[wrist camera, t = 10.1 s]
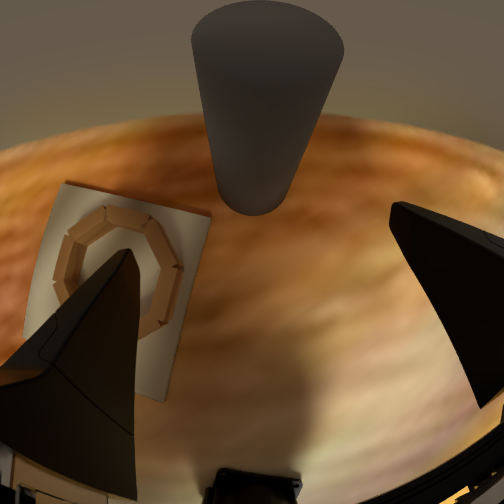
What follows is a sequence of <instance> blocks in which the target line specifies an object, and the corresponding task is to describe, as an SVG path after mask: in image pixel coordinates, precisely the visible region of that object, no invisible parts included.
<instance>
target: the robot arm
mask: <svg viewBox="0 0 504 504" xmlns="http://www.w3.org/2000/svg"><path fill="white" fill-rule="evenodd" d="M389 227H390V230H391V232H392V234H393V236H394V237H395V239H396V241H397V243H398V245H399V247H400V249H401V251H402V253H403V255H404V257H405V259H406V261H407V263H408V264H409V266H410V268H411V269H412V271H413V273H414V274H415V276H416V278H417V279H418V281H419V283H420V284H421V286H422V288H423V289H424V291H425V293H426V295H427V296H428V298H429V300H430V302H431V304H432V305H433V307H434V309H435V311H436V313H437V315H438V317H439V319H440V320H441V322H442V324H443V326H444V328H445V330H446V332H447V334H448V336H449V338H450V340H451V342H452V344H453V347H454V349H455V351H456V353H457V355H458V357H459V360H460V362H461V364H462V367H463V369H464V371H465V373H466V376H467V378H468V381H469V383H470V385H471V388H472V390H473V393H474V396H475V398H476V401H477V403H478V406H479V408H480V409H482V408H483V407H485V406H486V405H487V404H489V403H490V402H491V401H493V400H494V399H495V398H497V397H498V396H499V395H501V394H502V393H503V392H504V239H503V238H501V237H498V236H496V235H493V234H491V233H488V232H486V231H484V230H483V231H482V230H481V229H479V228H476V227H474V226H471V225H469V224H466V223H463V222H461V221H458V220H456V219H453V218H450V217H447V216H445V215H442V214H439V213H436V212H434V211H431V210H428V209H425V208H422V207H419V206H416V205H413V204H410V203H407V202H404V201H400V202H394V203H393V204H392V206H391V213H390V219H389ZM139 321H140V269H139V266H138V264H137V261H136V259H135V256H134V254H133V251H132V250H131V249H130V248H126V249H121V250H118V251H117V252H116V253H115V254H114V255H113V256H112V257H110V258H109V259H108V260H107V261H106V262H105V263H104V264H103V265H102V266H101V267H100V268H99V269H97V270H96V271H95V272H94V273H93V274H92V275H91V276H90V277H89V278H88V279H87V280H86V281H85V282H84V283H83V284H82V285H81V286H80V287H79V288H78V289H77V290H76V291H75V292H74V293H73V294H72V295H71V296H70V297H69V298H68V299H67V300H66V301H65V302H64V303H63V304H62V305H61V306H60V307H59V308H58V309H57V310H56V311H55V313H53V314H52V315H51V316H50V317H49V318H48V319H47V320H46V321H45V323H44V324H43V325H42V326H41V327H40V328H39V329H38V330H37V331H36V332H35V333H34V334H33V335H32V336H31V337H30V338H29V339H28V340H27V341H26V342H25V343H24V344H23V345H22V346H21V347H20V348H19V349H18V350H17V351H16V352H15V353H14V354H13V355H12V356H11V357H10V358H9V359H8V360H7V361H6V362H5V363H4V364H3V365H2V366H1V367H0V504H108V498H112V499H119V500H128V501H137V486H136V471H135V444H134V437H133V436H134V398H135V373H136V356H137V343H138V332H139ZM221 473H226V475H222V474H221ZM294 484H298V485H294ZM467 485H468V488H469V491H470V492H468V493H466V494H464V495H462V496H460V497H458V498H457V499H455V502H456V503H454V504H504V405H503V409H502V415H501V421H500V424H499V425H497V426H496V427H495V428H494V429H492V430H491V431H490V432H488V433H487V434H486V435H484V436H483V437H482V438H480V439H479V440H478V441H476V442H475V443H473V444H472V445H470V446H469V447H467V448H466V449H465V450H463V451H461V452H460V453H458V454H457V455H455V456H454V457H452V458H450V459H449V460H447V461H446V462H444V463H442V464H440V465H439V466H437V467H435V468H434V469H432V470H430V471H428V472H426V473H424V474H423V475H421V476H419V477H417V478H415V479H413V480H411V481H409V482H407V483H405V484H402V485H400V486H398V487H396V488H394V489H392V490H389V491H387V492H385V493H382V494H380V495H377V496H375V497H372V498H370V499H367V500H364V501H362V502H359V503H356V504H439V503H441V502H442V501H444V500H446V499H447V498H449V497H451V496H452V495H454V494H455V493H457V492H458V491H460V490H461V489H463V488H464V487H466V486H467ZM302 486H303V484H302V481H301V480H300V479H296V478H285V477H277V476H269V475H262V474H255V473H249V472H243V471H238V470H233V469H228V468H220V469H218V470H217V473H216V476H215V480H214V483H213V486H212V487H207V488H206V489H205V492H204V496H203V499H202V503H201V504H297V500H296V499H297V497H298V495H299V493H300V490H301V488H302Z"/></svg>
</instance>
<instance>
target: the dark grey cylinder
mask: <svg viewBox="0 0 504 504" xmlns="http://www.w3.org/2000/svg"><path fill="white" fill-rule="evenodd" d="M191 43H192V49H193V55H194V61H195V67H196V73H197V79H198V84H199V90H200V96H201V101H202V107H203V112H204V118H205V123H206V129H207V134H208V140H209V145H210V150H211V155H212V161H213V166H214V171H215V176H216V181H217V186H218V191H219V194H220V196H221V198H222V200H223V201H224V202H225V204H226V205H227V206H228V207H230V208H231V209H232V210H234V211H236V212H238V213H241V214H244V215H249V216H257V215H263V214H266V213H269V212H271V211H273V210H274V209H276V208H277V207H278V206H279V205H280V204H281V203H282V201H283V200H284V198H285V196H286V194H287V192H288V189H289V187H290V185H291V182H292V180H293V178H294V175H295V173H296V170H297V168H298V166H299V163H300V161H301V158H302V156H303V154H304V151H305V149H306V147H307V144H308V142H309V139H310V137H311V135H312V132H313V130H314V127H315V125H316V123H317V120H318V118H319V115H320V113H321V110H322V108H323V105H324V103H325V101H326V98H327V96H328V93H329V91H330V89H331V86H332V84H333V81H334V79H335V76H336V74H337V71H338V69H339V67H340V64H341V62H342V59H343V55H344V46H343V42H342V40H341V37H340V36H339V34H338V33H337V31H336V30H335V29H334V28H333V27H332V26H331V25H330V24H329V23H328V22H327V21H325V20H324V19H323V18H321V17H320V16H318V15H316V14H314V13H312V12H310V11H308V10H306V9H303V8H301V7H298V6H295V5H291V4H287V3H283V2H276V1H265V0H256V1H244V2H238V3H233V4H230V5H226V6H223V7H221V8H219V9H216V10H214V11H212V12H211V13H209V14H208V15H206V16H205V17H204V18H202V19H201V20H200V21H199V23H198V24H197V25H196V27H195V28H194V30H193V33H192V37H191Z"/></svg>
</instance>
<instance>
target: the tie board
mask: <svg viewBox="0 0 504 504" xmlns="http://www.w3.org/2000/svg"><path fill="white" fill-rule="evenodd" d="M211 220H212V219H211V218H210V217H206V216H202V215H198V214H194V213H190V212H186V211H182V210H177V209H173V208H169V207H165V206H161V205H157V204H152V203H148V202H144V201H139V200H135V199H131V198H126V197H122V196H118V195H113V194H109V193H104V192H100V191H95V190H91V189H86V188H82V187H77V186H72V185H68V184H63V183H62V184H61V186H60V189H59V192H58V194H57V197H56V200H55V202H54V205H53V208H52V211H51V214H50V217H49V220H48V223H47V226H46V229H45V233H44V236H43V239H42V243H41V246H40V250H39V254H38V258H37V261H36V265H35V270H34V274H33V278H32V283H31V288H30V293H29V298H28V304H27V310H26V316H25V323H24V331H23V338H25V339H26V340H28V339H29V338H30V337H31V336H32V335H33V334H34V333H35V332H36V331H37V330H38V329H39V328H40V327H41V326H42V325H43V324H44V323H45V321H46V320H47V319H48V318H49V317H50V316H51V315H52V314H53V313H55V311H56V310H57V309H58V308H59V307H60V306H61V305H62V304H63V303H64V302H65V301H66V300H67V299H68V298H69V297H70V296H71V295H72V294H73V293H74V292H75V291H76V290H77V289H78V288H79V287H80V286H81V285H82V284H83V283H84V282H85V281H86V280H87V279H88V278H89V277H90V276H91V275H92V274H93V273H94V272H95V271H96V270H97V269H99V268H100V267H101V266H102V265H103V264H104V263H105V262H106V261H107V260H108V259H109V258H110V257H112V256H113V255H114V254H115V253H116V252H117V251H118V250H121V249H126V248H130V249H131V250H132V251H133V254H134V256H135V259H136V261H137V264H138V266H139V269H140V321H139V332H138V343H137V356H136V373H135V393H137V394H139V395H142V396H145V397H147V398H150V399H153V400H156V401H159V402H162V403H164V402H165V400H166V395H167V390H168V386H169V381H170V377H171V372H172V368H173V364H174V359H175V355H176V351H177V347H178V342H179V338H180V334H181V330H182V326H183V322H184V318H185V314H186V310H187V306H188V303H189V299H190V295H191V291H192V287H193V284H194V280H195V276H196V273H197V269H198V265H199V262H200V258H201V255H202V251H203V248H204V244H205V241H206V237H207V234H208V230H209V227H210V224H211Z"/></svg>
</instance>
